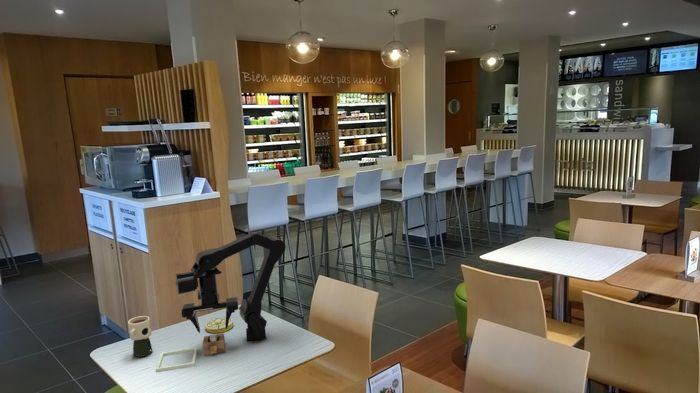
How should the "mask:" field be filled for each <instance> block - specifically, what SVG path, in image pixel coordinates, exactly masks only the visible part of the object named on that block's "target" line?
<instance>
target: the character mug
mask: <svg viewBox="0 0 700 393" xmlns="http://www.w3.org/2000/svg"><path fill="white" fill-rule="evenodd" d="M127 325H128V332H129V334H128V335H129V338H130V340H131V341H133V342H132V344H133V345H132V346H133V348H132V355H133V356H135V357H146V356H148V355H150V354H151V352H153V348H152V343H151V340H150V337H151V335H152V329H151V319H150V316H147V315H140V316H136V317H132V318H130V319H129V320H128V321H127Z"/></svg>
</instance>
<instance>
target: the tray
mask: <svg viewBox="0 0 700 393" xmlns="http://www.w3.org/2000/svg"><path fill="white" fill-rule="evenodd" d="M186 353H188V354H189V353H193V355H192V361H191V362H186V363H181V364H173V365H169V366H161V365H162V363H163V360H164V357H168V356H173V355H180V354H186ZM197 355H198V347H197V346H196V347H195V346H194V347H189V348H183V349H176V350H169V351H162V352H161V353H160V356H159V358H158V360H157V361H158V362H157V364H156V367H155V373H159V372H166V371H167V372H168V371H174V370H179V369H185V368H192V367H195V366H196V361H197Z"/></svg>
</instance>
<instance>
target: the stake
mask: <svg viewBox="0 0 700 393" xmlns="http://www.w3.org/2000/svg"><path fill="white" fill-rule="evenodd" d="M209 336H210V335H209ZM213 341H217V334H211V336H210V342H213ZM226 353H227V342H225V353H218V354H212V355H206V356H204V353H203V352H202V355H201V356H202V358H203V357H211V356H215V355H222V354H226Z"/></svg>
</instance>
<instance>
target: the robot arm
mask: <svg viewBox="0 0 700 393" xmlns="http://www.w3.org/2000/svg"><path fill="white" fill-rule="evenodd" d="M256 245H257V246H259V247H261V248H263V258H262V263H261V265H260V268H259V270H258V274H257V275H256V278H255V280H254V284H253V287H252V289H251V292H250V295H249V297H247V298H246V299H244V298H242V300H241V304H240V306H239V299H238V297H236V296H235V297H229V298H227V297H226V298H225V300H226V301H223V302H220V295H219V292H218V284H217V275H221V274H222V270H221V269H219V268H218V266H219V265H220V264H222V262H223V261H225V260H226V259H228V258H230V257H232V256H234V255H236V254H238V253H241V252H242V251H245V250H247V249H249V248H251V247H254V246H256ZM286 247H287V246H286V244H285V242H284V241H283V240H281V239H279V238H278V237H276V236H270V237H268V236H266V235H263V234H259V233H257V232H256V231H252V232H249V233H248V234H246V235H244V236H242V237H239V238H237V239H235V240H233V241H231V242H229V243H226V244H225V245H222V246H219V247H215V248H209V249H206V250H202V251H200V252H198V253H197V254H196V257H195V262H194V263H193V264H192V267H191V269H190V271H187V272H182V273H181V272H180V273H175V281H174V282H175V288H176V293H177V295H182V294H186V293H190V292H191V293H192V292H195V291H196V290H197V299H198V300H200V302H201V305H195V303H194V302H191V303H185V304H183V306H182V308H181V317H182V318H185V319H186V320H189V321H190V322H191V323H192V324H193V326H194V328H195V329H196V331H197V332H198V333H199V334H200V333H201V326H200V322H199V318H198V313H197V312H205V311H211V310H217V309H218V310H219V309H226V310H225V318H226V329H227V327H228V323H229V319H231V316H232V314H234V313H235V312H236V311H238V310H239V315H240V318H241V319H242V320H243V321H244V323H246V324H247V328H245V333H246V334H245V335H246V341H247V342H250V343H251V342H252V343H258V342H262V341H264V340H267V334H266V332H267V331H266V326H267V323H268V321H267V320H266V318H265V317H264V316H262V315H261V313H262V302H263V298H264V295H265V293H266V290H267V287H268V285H269V282H270V279H271V276H272V273H273V271H274V267H275V265H276V264H277V263H278V261H279V260H280V259H281V258H282V256H283V254H284V253H285V251H286ZM198 288H199V290H198Z"/></svg>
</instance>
